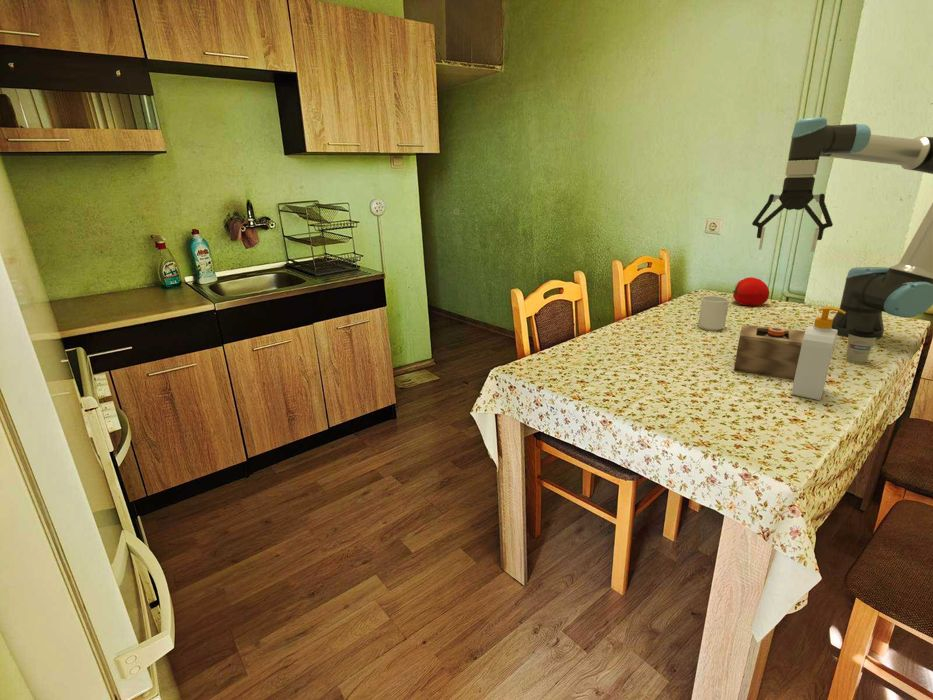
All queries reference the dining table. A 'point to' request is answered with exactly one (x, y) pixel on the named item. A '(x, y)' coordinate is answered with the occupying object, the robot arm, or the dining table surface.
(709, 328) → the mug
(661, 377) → the dining table surface
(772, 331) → the pill bottle
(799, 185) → the robot arm
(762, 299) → the tomato
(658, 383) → the dining table surface
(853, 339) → the coffee cup
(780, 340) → the deposit box
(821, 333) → the soap bottle
